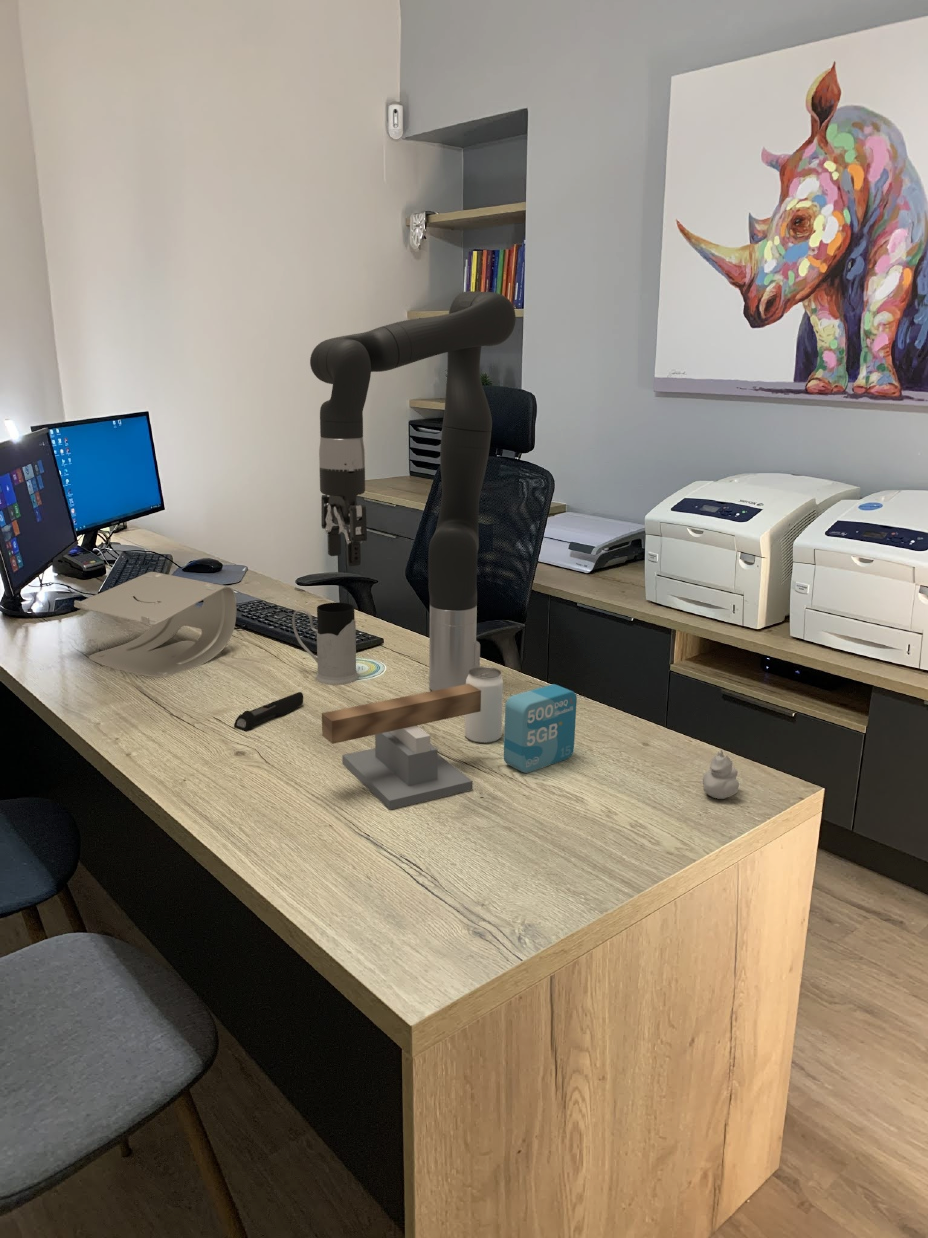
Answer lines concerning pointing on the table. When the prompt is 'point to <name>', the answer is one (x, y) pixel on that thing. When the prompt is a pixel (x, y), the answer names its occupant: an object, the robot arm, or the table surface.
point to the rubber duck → (720, 778)
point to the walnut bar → (400, 713)
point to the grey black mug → (334, 643)
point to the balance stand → (406, 769)
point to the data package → (539, 727)
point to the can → (486, 706)
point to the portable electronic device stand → (166, 622)
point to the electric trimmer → (268, 712)
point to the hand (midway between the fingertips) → (343, 560)
